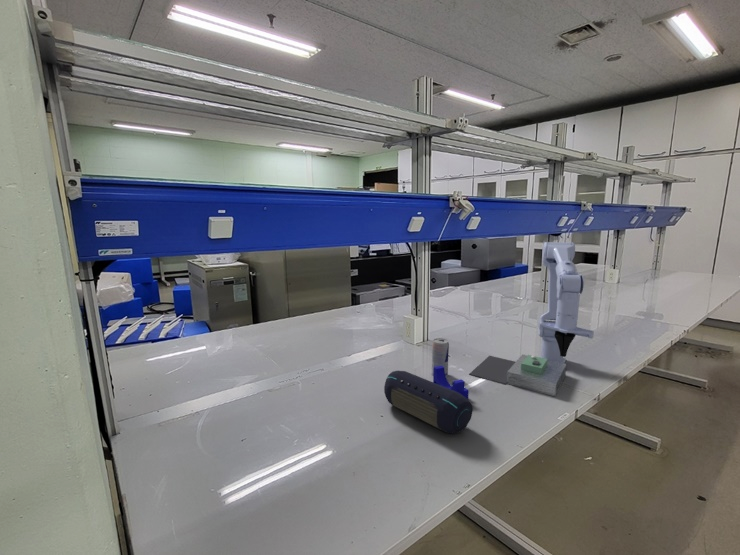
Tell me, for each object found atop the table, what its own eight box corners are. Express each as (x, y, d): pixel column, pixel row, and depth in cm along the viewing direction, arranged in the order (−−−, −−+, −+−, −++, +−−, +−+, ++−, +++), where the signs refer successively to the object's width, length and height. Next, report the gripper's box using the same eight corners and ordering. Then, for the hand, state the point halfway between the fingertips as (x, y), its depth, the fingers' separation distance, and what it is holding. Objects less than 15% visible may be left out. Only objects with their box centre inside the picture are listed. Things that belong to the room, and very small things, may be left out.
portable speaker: (377, 406, 99) (377, 372, 98) (400, 393, 106) (401, 362, 104) (454, 446, 81) (455, 407, 80) (476, 428, 88) (477, 392, 87)
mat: (489, 356, 134) (489, 355, 134) (522, 363, 127) (522, 363, 127) (469, 374, 119) (469, 373, 118) (505, 384, 111) (505, 383, 111)
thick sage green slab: (528, 360, 120) (528, 352, 120) (547, 364, 117) (547, 357, 116) (520, 369, 113) (521, 361, 113) (541, 374, 110) (541, 366, 109)
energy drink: (449, 373, 120) (451, 339, 118) (444, 379, 115) (445, 344, 113) (434, 370, 122) (435, 337, 120) (429, 375, 118) (430, 341, 116)
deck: (521, 364, 126) (522, 354, 125) (565, 375, 118) (566, 364, 117) (506, 383, 112) (507, 371, 111) (554, 396, 104) (556, 384, 103)
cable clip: (468, 399, 103) (468, 380, 102) (455, 402, 101) (455, 383, 100) (445, 382, 114) (445, 364, 113) (433, 384, 112) (433, 367, 111)
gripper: (538, 312, 108) (535, 354, 110) (593, 320, 99) (588, 365, 102) (543, 307, 114) (540, 347, 116) (596, 315, 105) (591, 357, 107)
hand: (563, 355), depth 109 cm, fingers closed
